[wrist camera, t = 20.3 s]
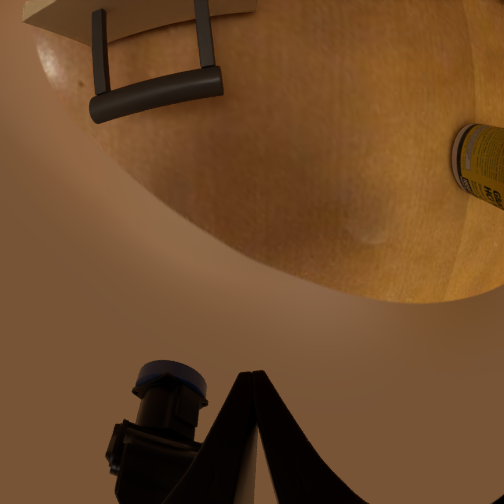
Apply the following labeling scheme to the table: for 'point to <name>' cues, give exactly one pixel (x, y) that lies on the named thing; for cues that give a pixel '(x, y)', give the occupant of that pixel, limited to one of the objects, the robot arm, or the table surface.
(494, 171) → the pill bottle
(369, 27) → the table surface
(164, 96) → the drawer
